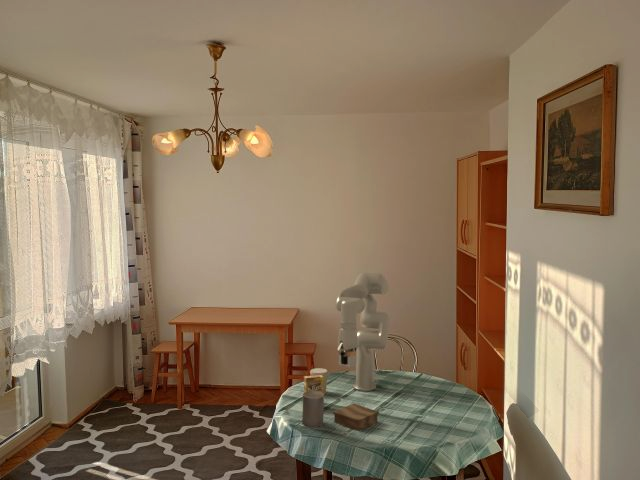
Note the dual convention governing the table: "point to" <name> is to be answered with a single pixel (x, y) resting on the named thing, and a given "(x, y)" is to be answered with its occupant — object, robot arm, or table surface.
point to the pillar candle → (313, 409)
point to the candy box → (313, 383)
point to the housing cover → (350, 353)
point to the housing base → (349, 361)
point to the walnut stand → (355, 416)
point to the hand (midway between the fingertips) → (347, 362)
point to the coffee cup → (324, 373)
